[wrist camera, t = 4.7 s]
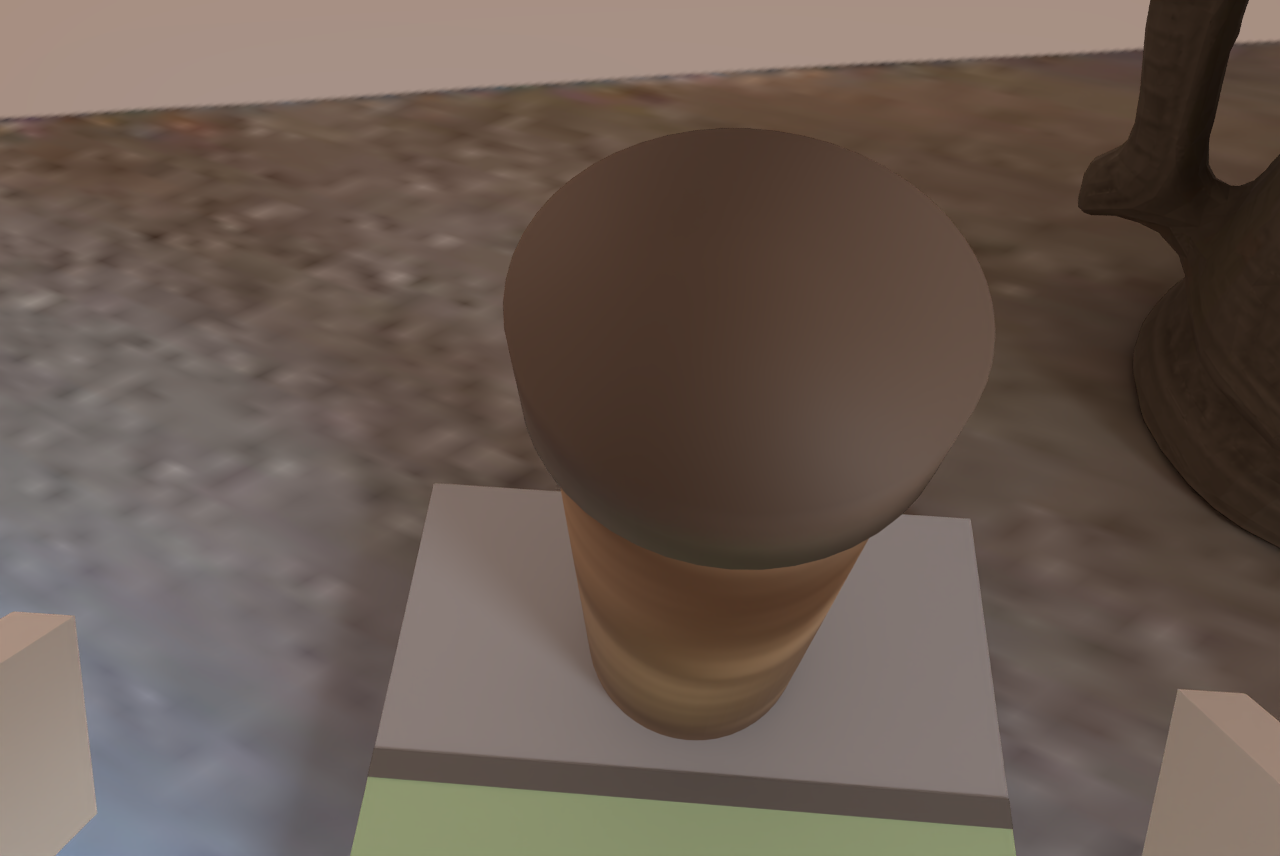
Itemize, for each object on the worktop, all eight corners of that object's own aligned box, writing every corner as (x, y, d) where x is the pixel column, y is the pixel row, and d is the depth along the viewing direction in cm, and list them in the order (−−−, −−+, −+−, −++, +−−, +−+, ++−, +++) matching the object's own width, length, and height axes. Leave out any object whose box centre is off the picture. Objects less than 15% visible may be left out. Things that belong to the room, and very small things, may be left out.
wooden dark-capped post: (807, 532, 22) (964, 139, 11) (813, 764, 19) (1032, 532, 8) (589, 517, 22) (538, 118, 11) (562, 743, 19) (461, 494, 9)
